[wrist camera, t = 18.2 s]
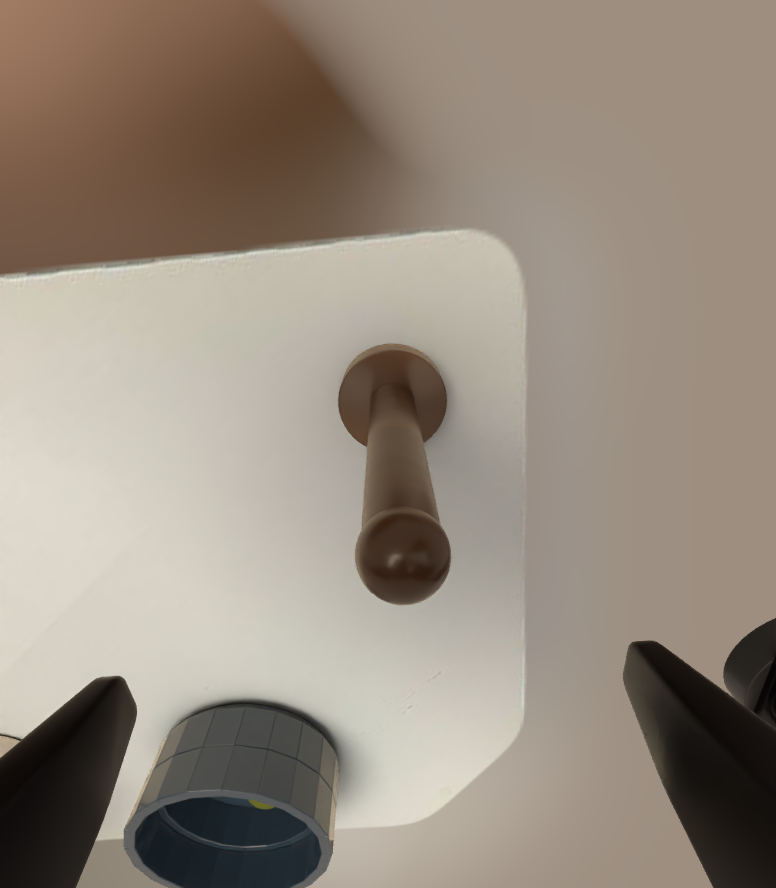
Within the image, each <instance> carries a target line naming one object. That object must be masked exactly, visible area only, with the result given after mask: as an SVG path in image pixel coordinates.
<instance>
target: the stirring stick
mask: <svg viewBox="0 0 776 888" xmlns="http://www.w3.org/2000/svg"><path fill="white" fill-rule="evenodd" d="M446 405H447V397H446V390H445V386H444V383H443V381H442V378H441V376H440V374H439V372H438V370H437V368H436V367H435V365H434V364H433V362H432V361H431V360H430V359H429V358H428V357H427V356H425V355H424V354H423V353H421V352H420V351H418V350H416V349H414V348H412V347H409V346H406V345H401V344H384V345H379V346H375V347H373V348H370V349H368V350H367V351H365V352H363V353H362V354H360V355H359V356H358V357H357V358H356V359H355V360H354V361H353V362H352V363H351V364H350V366H349V367H348V369H347V370H346V372H345V375H344V377H343V380H342V383H341V387H340V391H339V398H338V407H339V412H340V416H341V419H342V421H343V423H344V426H345V427H346V429H347V430H348V432H349V433H350V434H351V435H352V436H353V437H354V438H355V439H356V440H357V441H358V442H360V443H361V444H363V445H365V446H367V458H366V472H365V486H364V501H363V515H362V529H361V533H360V535H359V537H358V540H357V543H356V549H355V562H356V567H357V571H358V574H359V576H360V578H361V580H362V582H363V583H364V585H365V586H366V587H367V589H368V590H369V591H370V592H371V593H372V594H374V595H375V596H376V597H378V598H379V599H381V600H383V601H385V602H388V603H391V604H396V605H411V604H416V603H419V602H421V601H424V600H426V599H427V598H429V597H430V596H432V595H433V594H434V593H435V592H436V591H437V590H438V589H439V588H440V587H441V586H442V584H443V582H444V581H445V579H446V577H447V575H448V572H449V568H450V563H451V549H450V544H449V540H448V538H447V535H446V533H445V531H444V530H443V528H442V526H441V524H440V519H439V515H438V510H437V505H436V500H435V495H434V491H433V486H432V481H431V476H430V472H429V467H428V462H427V457H426V452H425V448H424V442H426V441H427V440H428V439H429V438H431V437H432V436H433V434H434V433H435V432H436V431H437V429H438V428H439V426H440V425H441V423H442V421H443V418H444V415H445V411H446Z"/></svg>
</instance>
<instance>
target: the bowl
mask: <svg viewBox="0 0 776 888" xmlns="http://www.w3.org/2000/svg"><path fill="white" fill-rule="evenodd" d="M338 779H339V767H338V762H337V757H336V753H335V751H334V750H333V748H332V747H331V745H330V744H329V743H328V741H327V740H326V739H325V737H324V736H323V735H322V734H321V733H320V732H319V731H318V730H317V729H316V728H315V727H314V726H313V725H311V724H310V723H309V722H307V721H306V720H304V719H302V718H301V717H299V716H297V715H294V714H292V713H290V712H287V711H284V710H281V709H278V708H274V707H270V706H264V705H257V704H232V705H224V706H219V707H215V708H211V709H208V710H205V711H203V712H201V713H199V714H197V715H194V716H191V717H189V718H188V719H186V720H185V721H183V722H182V723H180V724H179V725H178V726H176V727H175V728H173V729H172V730H171V731H170V732H169V734H168V735H167V737H166V738H165V740H164V741H163V743H162V745H161V746H160V749H159V751H158V753H157V755H156V758H155V760H154V762H153V764H152V767H151V769H150V771H149V774H148V776H147V778H146V780H145V783H144V785H143V787H142V789H141V792H140V794H139V796H138V799H137V801H136V803H135V805H134V808H133V810H132V812H131V814H130V817H129V819H128V821H127V824H126V826H125V828H124V849H125V851H126V853H127V854H128V856H129V858H130V859H131V861H132V863H133V864H134V866H135V867H136V868H138V869H139V870H140V871H141V872H143V873H144V874H145V875H146V876H148V877H149V878H150V879H151V880H153V881H155V882H158V883H160V884H162V885H164V886H166V887H168V888H305V887H307V886H309V885H311V884H313V883H314V882H315V881H316V880H317V879H318V878H319V877H320V876H321V875H322V874H323V873H324V872H325V871H326V869H327V867H328V865H329V862H330V859H331V856H332V853H333V841H334V840H333V839H334V828H335V816H336V804H337V791H338ZM249 800H255V801H258V802H261V803H264V804H267V805H270V806H273V807H274V808H271V809H260V808H257V807H255V806H253V805H252V804H251V803H250V802H249Z"/></svg>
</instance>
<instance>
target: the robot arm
mask: <svg viewBox="0 0 776 888" xmlns="http://www.w3.org/2000/svg"><path fill="white" fill-rule="evenodd" d="M623 681H624V685H625V689H626V691H627V694H628V697H629V699H630V702H631V704H632V707H633V710H634V712H635V714H636V717H637V720H638V722H639V725H640V727H641V730H642V732H643V735H644V738H645V741H646V743H647V746H648V748H649V751H650V753H651V756H652V759H653V761H654V763H655V766H656V769H657V771H658V774H659V776H660V779H661V781H662V783H663V786H664V788H665V790H666V792H667V794H668V797H669V799H670V801H671V803H672V805H673V807H674V809H675V811H676V813H677V815H678V817H679V819H680V821H681V823H682V825H683V827H684V829H685V831H686V833H687V835H688V837H689V839H690V841H691V843H692V845H693V847H694V850H695V851H696V854H697V856H698V858H699V860H700V862H701V864H702V866H703V868H704V870H705V872H706V874H707V876H708V878H709V880H710V882H711V884H712V886H713V887H714V888H776V655H775V657H774V660H773V662H772V665H771V667H770V670H769V673H768V675H767V678H766V680H765V683H764V686H763V688H762V691H761V693H760V696H759V698H758V701H757V704H756V706H755V709H754V711H753V712H752V711H751V710H749V709H748V708H747V707H745V706H744V705H743V704H741V703H740V702H738V701H737V700H736V699H734V698H733V697H732V696H730V695H729V694H728V693H726V692H725V691H723V690H722V689H721V688H719V687H718V686H717V685H715V684H714V683H713V682H711V681H710V680H709V679H707V678H706V677H704V676H703V675H702V674H700V673H699V672H697V671H696V670H695V669H694V668H692V667H691V666H689V665H688V664H687V663H685V662H684V661H683V660H681V659H680V658H679V657H677V656H676V655H675V654H673V653H672V652H671V651H669V650H668V649H666V648H665V647H664V646H662V645H661V644H659V643H658V642H655V641H636V642H632V643H631V644H630V645H629V647H628V651H627V656H626V661H625V666H624V671H623ZM136 717H137V707H136V703H135V701H134V699H133V696H132V694H131V692H130V690H129V688H128V685H127V683H126V681H125V679H124V678H122V677H121V676H109V677H100V678H97V679H95V680H94V681H92V682H91V683H90V684H88V685H87V686H86V687H85V688H84V689H82V690H81V691H80V692H79V693H78V694H76V695H75V696H74V697H73V698H72V699H70V700H69V701H68V702H67V703H66V704H64V705H63V706H62V707H61V708H59V709H58V710H57V711H56V712H55V713H53V714H52V715H51V716H50V717H49V718H47V719H46V720H45V721H44V722H43V723H41V724H40V725H39V726H38V727H37V728H35V729H34V730H33V731H32V732H31V733H29V734H28V735H27V736H26V737H25V738H23V739H22V740H21V741H20V742H19V743H17V744H16V745H15V746H14V747H13V748H11V749H10V750H9V751H8V752H7V753H5V754H4V755H3V756H2V757H1V758H0V888H76V886H77V883H78V881H79V879H80V876H81V874H82V871H83V869H84V867H85V864H86V862H87V859H88V857H89V854H90V852H91V850H92V847H93V845H94V842H95V840H96V838H97V835H98V833H99V830H100V827H101V825H102V822H103V820H104V817H105V814H106V811H107V808H108V806H109V803H110V800H111V796H112V793H113V790H114V787H115V784H116V781H117V778H118V775H119V771H120V768H121V765H122V762H123V759H124V756H125V753H126V750H127V746H128V743H129V740H130V737H131V734H132V731H133V728H134V725H135V721H136Z"/></svg>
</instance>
